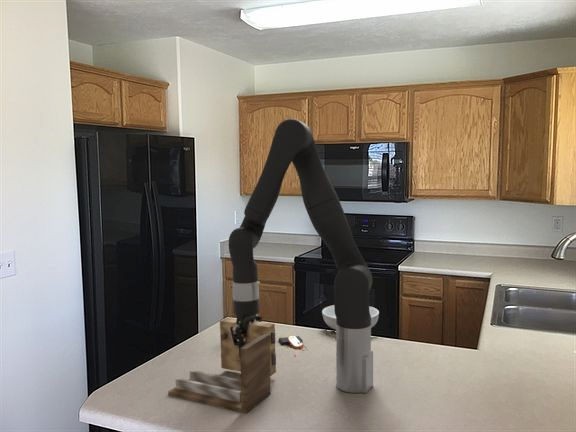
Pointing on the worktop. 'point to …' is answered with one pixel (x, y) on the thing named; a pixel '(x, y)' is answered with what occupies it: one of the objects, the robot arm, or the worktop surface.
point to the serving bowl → (331, 317)
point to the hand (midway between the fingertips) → (247, 355)
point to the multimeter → (292, 342)
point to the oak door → (231, 351)
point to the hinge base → (232, 381)
